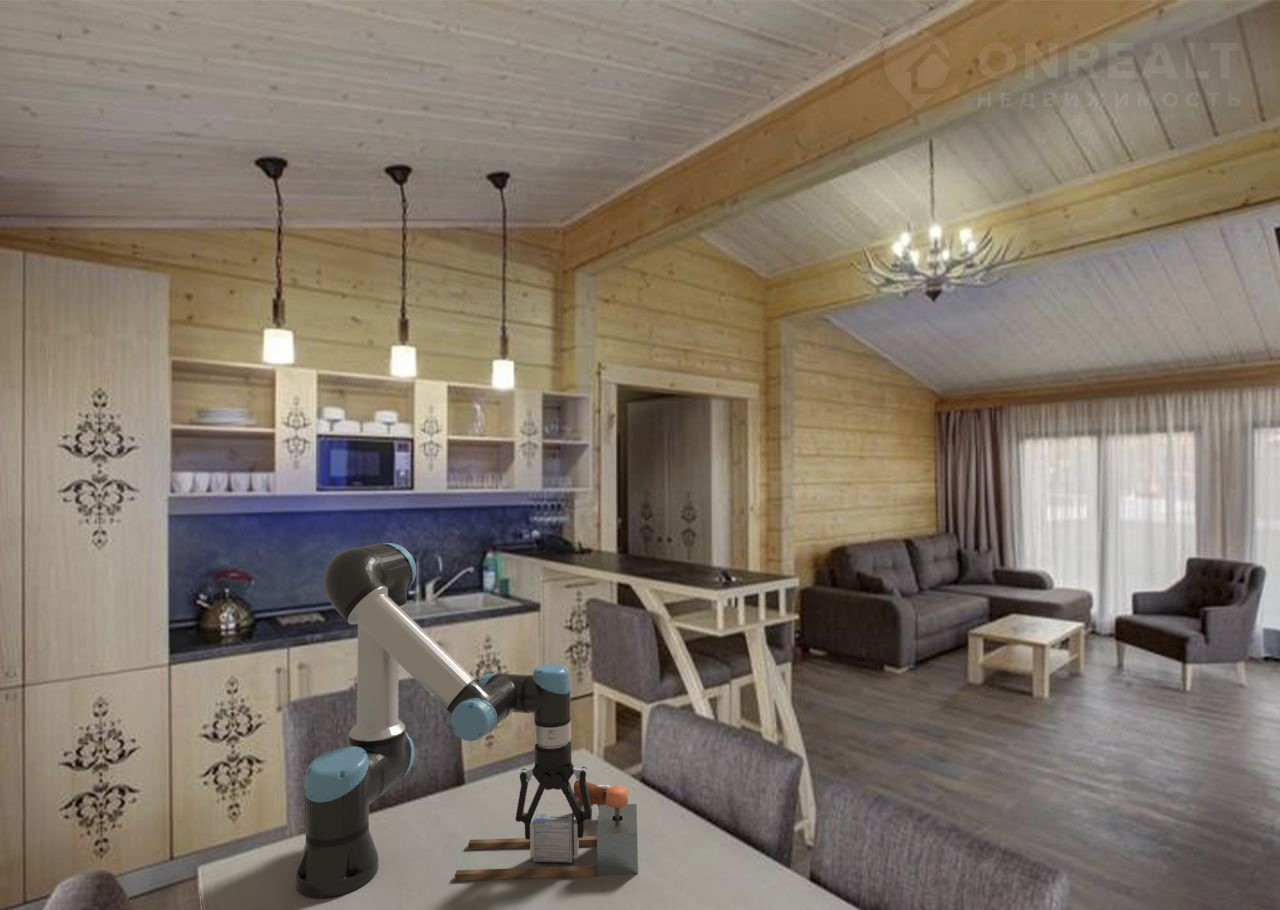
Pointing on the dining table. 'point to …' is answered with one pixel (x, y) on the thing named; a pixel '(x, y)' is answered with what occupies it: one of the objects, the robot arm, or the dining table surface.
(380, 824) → the dining table surface
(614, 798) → the gauge button
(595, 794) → the bull figurine
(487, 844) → the track
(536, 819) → the medicine box
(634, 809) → the end cabinet
